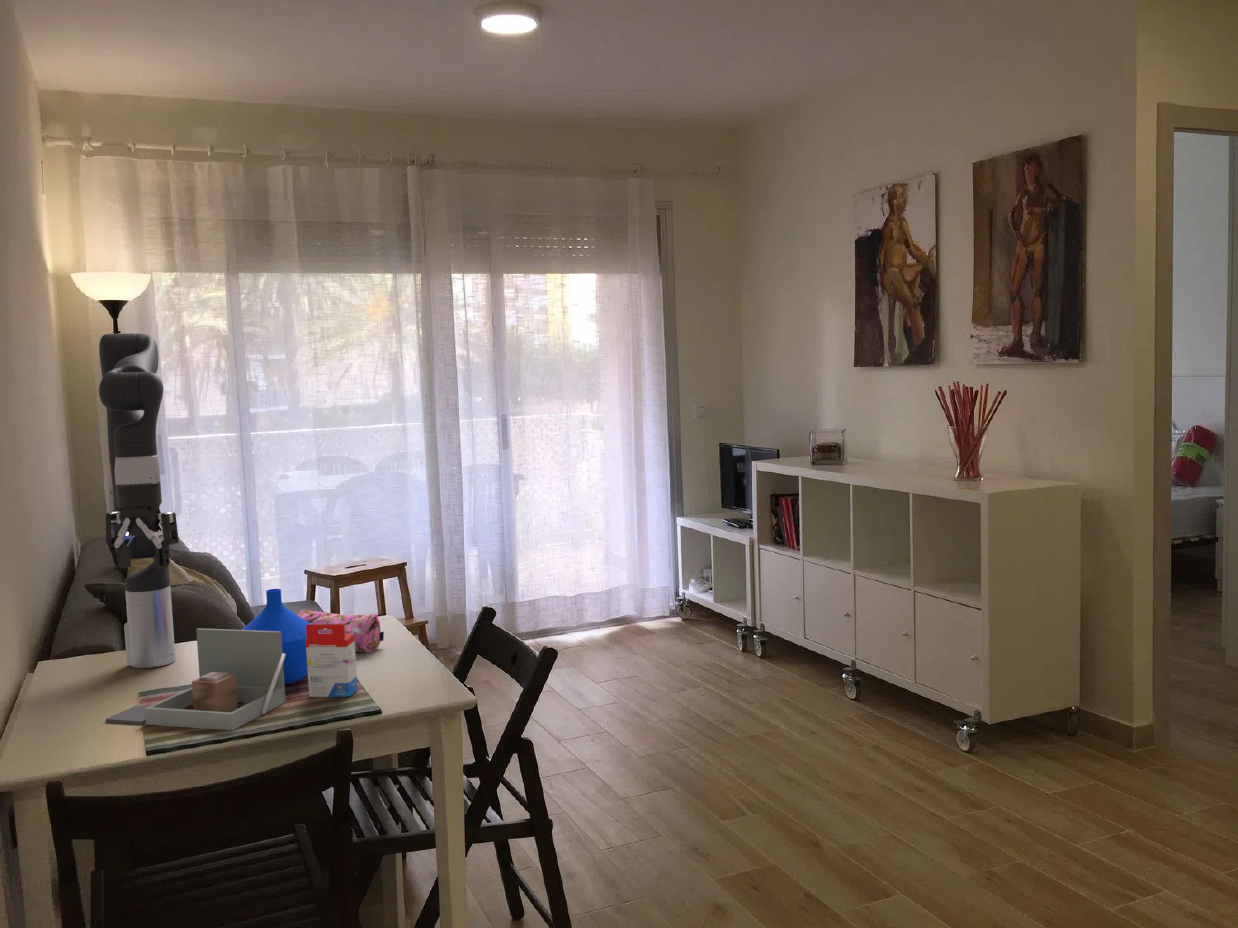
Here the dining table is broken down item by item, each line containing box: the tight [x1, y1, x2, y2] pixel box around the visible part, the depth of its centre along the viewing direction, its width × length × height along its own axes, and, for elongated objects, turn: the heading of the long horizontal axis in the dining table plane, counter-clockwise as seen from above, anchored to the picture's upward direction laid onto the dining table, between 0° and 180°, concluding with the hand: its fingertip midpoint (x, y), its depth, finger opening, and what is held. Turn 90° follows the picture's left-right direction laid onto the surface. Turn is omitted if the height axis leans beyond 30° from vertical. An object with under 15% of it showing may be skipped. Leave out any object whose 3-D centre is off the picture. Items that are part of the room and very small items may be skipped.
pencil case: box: [296, 609, 385, 653], centre depth 239 cm, size 21×9×9 cm, turn 72°
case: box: [145, 627, 286, 731], centre depth 193 cm, size 19×16×14 cm
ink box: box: [305, 624, 359, 698], centre depth 203 cm, size 8×5×15 cm, turn 84°
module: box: [191, 672, 239, 712], centre depth 193 cm, size 6×6×8 cm
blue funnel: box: [241, 588, 320, 685], centre depth 214 cm, size 18×18×19 cm
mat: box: [104, 705, 150, 725], centre depth 194 cm, size 8×8×1 cm
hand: (144, 567), depth 190 cm, fingers open, 8 cm apart
